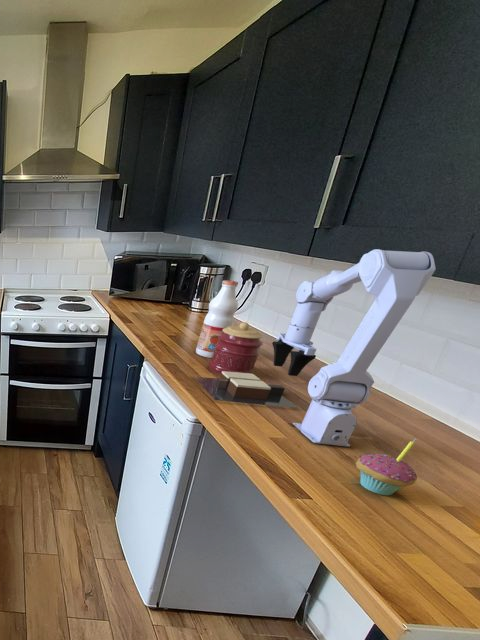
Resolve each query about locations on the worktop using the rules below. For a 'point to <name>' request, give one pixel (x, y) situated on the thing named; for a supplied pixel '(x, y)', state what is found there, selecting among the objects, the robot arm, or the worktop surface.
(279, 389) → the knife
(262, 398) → the cake front half
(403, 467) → the cupcake
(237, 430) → the worktop surface
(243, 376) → the cake back half
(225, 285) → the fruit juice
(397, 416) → the worktop surface
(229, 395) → the cake board
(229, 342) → the kitchen canister
